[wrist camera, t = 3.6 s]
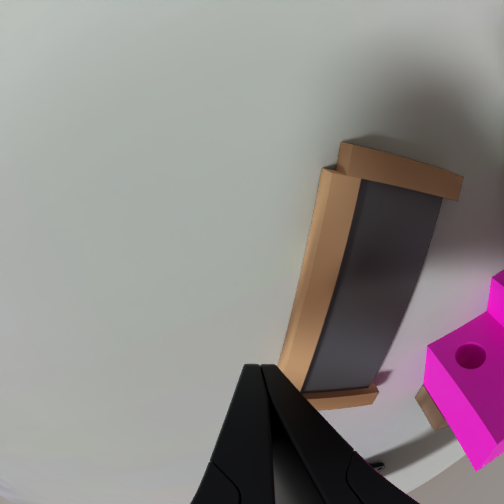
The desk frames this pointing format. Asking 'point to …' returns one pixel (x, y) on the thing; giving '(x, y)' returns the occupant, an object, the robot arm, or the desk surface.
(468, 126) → the desk surface
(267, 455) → the robot arm
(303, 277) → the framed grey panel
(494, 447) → the magenta curved bracket
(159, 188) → the desk surface
